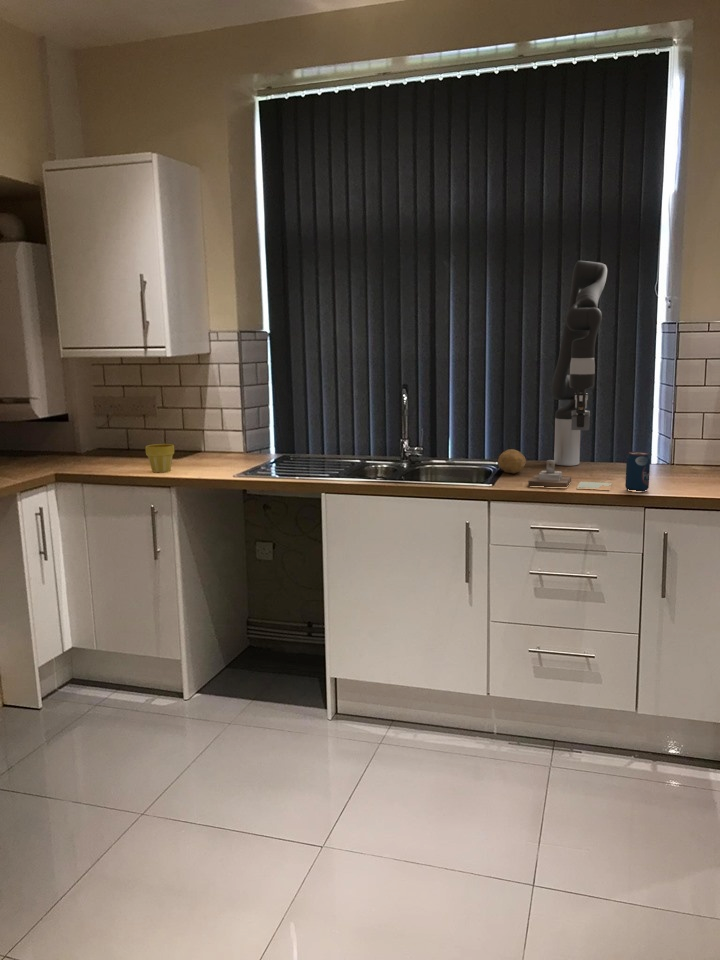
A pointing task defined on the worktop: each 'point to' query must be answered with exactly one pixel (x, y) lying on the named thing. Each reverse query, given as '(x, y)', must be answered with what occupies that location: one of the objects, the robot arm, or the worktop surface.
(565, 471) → the worktop surface
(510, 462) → the potato
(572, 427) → the cap
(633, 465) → the soda can
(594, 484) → the mat
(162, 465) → the plant pot
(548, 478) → the post stand
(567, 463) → the robot arm
